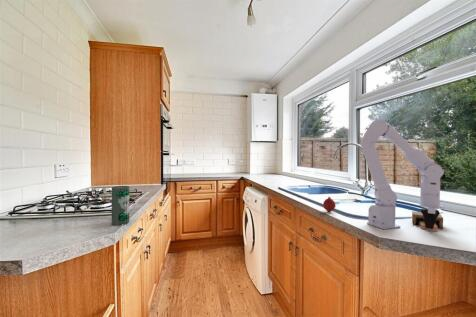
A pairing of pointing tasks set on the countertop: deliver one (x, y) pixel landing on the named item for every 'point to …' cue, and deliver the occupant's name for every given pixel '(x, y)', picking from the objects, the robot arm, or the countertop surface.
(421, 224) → the tile
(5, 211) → the countertop surface
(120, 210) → the can
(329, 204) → the onion
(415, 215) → the shelf
